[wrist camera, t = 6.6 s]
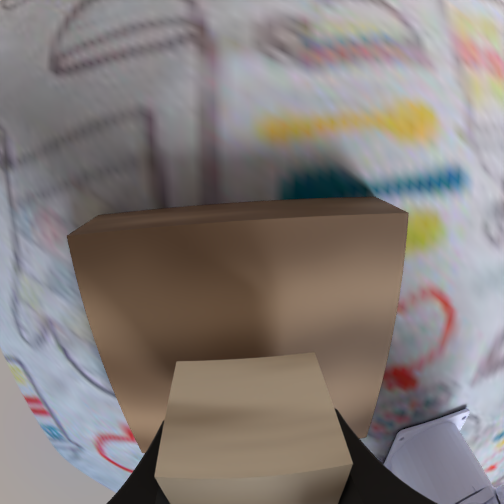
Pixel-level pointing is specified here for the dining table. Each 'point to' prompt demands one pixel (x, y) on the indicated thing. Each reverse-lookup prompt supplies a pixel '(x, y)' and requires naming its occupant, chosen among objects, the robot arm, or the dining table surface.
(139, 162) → the dining table surface
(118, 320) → the walnut block
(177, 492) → the beech cube
